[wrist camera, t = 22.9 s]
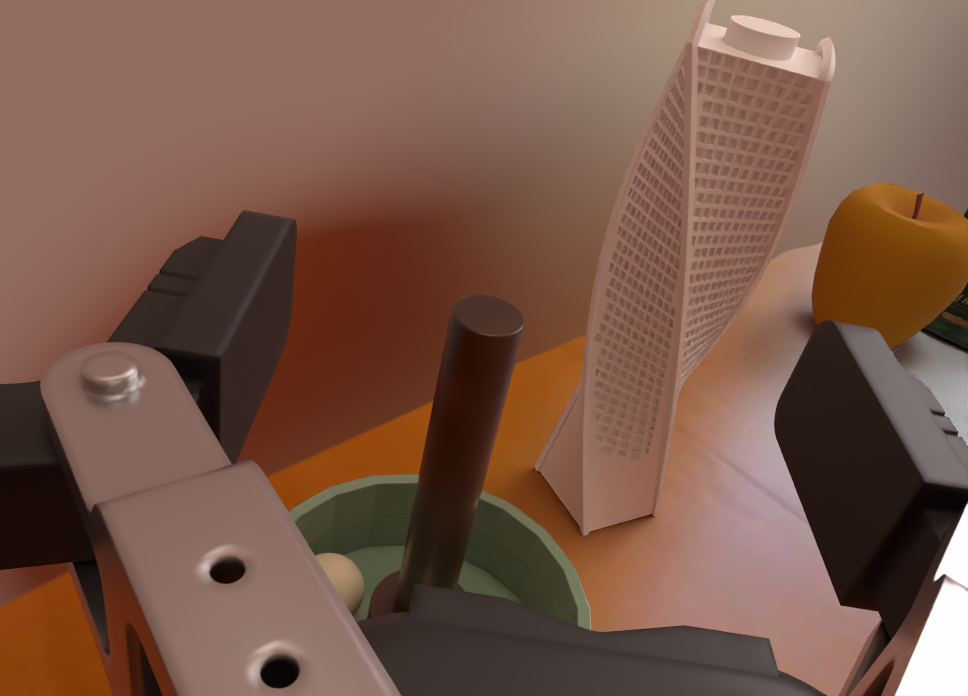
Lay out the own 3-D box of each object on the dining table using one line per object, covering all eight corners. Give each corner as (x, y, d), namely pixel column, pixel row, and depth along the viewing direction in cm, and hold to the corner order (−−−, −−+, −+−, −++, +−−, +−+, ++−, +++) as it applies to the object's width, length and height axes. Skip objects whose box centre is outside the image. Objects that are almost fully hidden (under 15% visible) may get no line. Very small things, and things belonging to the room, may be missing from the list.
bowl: (161, 728, 32) (156, 652, 30) (349, 504, 44) (358, 434, 41) (489, 917, 29) (519, 852, 26) (600, 623, 40) (629, 555, 38)
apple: (935, 347, 71) (1018, 212, 63) (890, 390, 63) (977, 243, 56) (819, 287, 76) (883, 155, 69) (765, 320, 69) (830, 177, 62)
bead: (275, 591, 37) (294, 537, 36) (342, 589, 39) (362, 538, 38) (290, 646, 35) (310, 590, 34) (360, 642, 37) (382, 588, 35)
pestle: (342, 666, 35) (395, 319, 25) (392, 594, 39) (456, 264, 29) (434, 715, 34) (527, 373, 24) (476, 636, 38) (573, 309, 28)
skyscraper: (506, 454, 49) (645, -53, 33) (606, 432, 53) (777, -36, 37) (576, 554, 44) (782, 6, 28) (683, 522, 47) (920, 19, 31)
